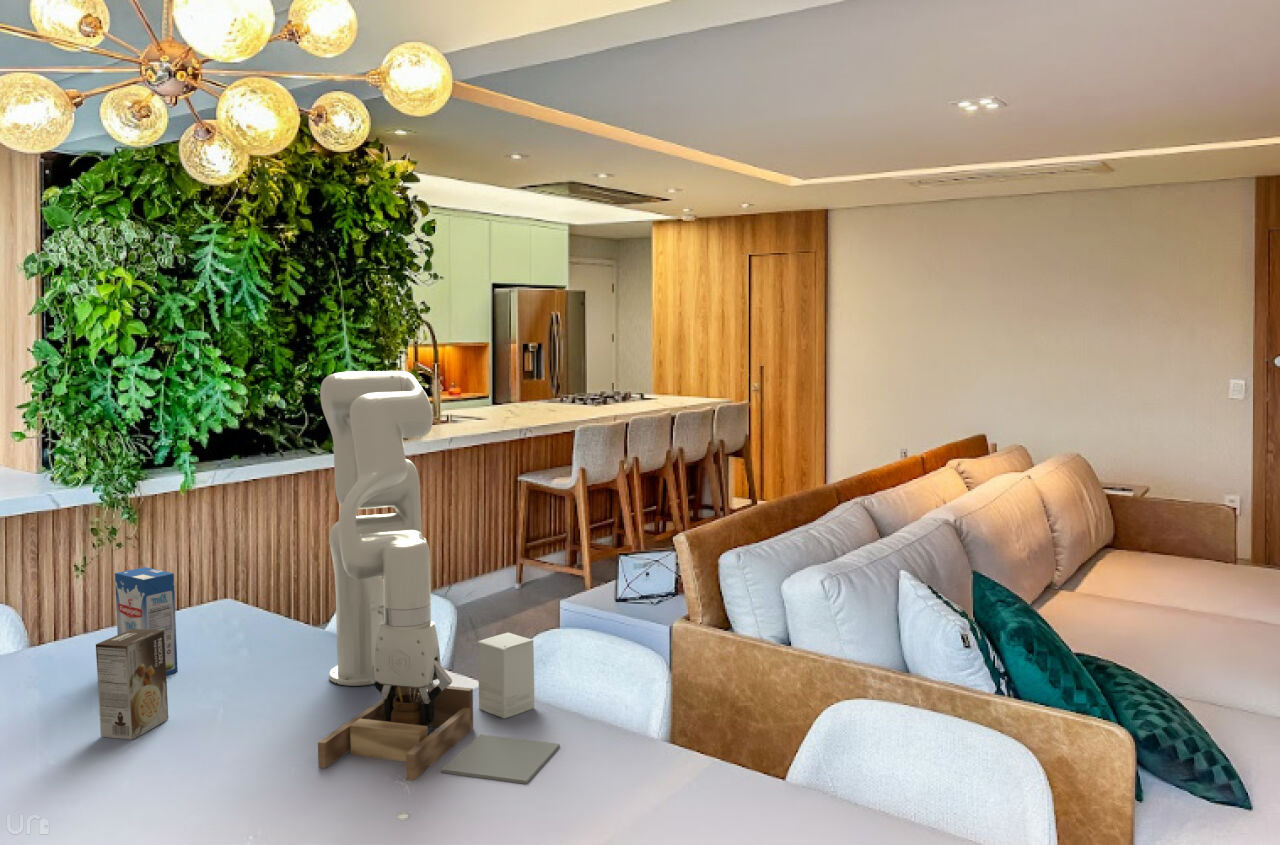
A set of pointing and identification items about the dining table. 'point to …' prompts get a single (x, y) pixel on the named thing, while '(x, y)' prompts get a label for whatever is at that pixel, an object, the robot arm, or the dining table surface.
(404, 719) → the utensil holder
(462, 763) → the slate mat
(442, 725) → the walnut u-shaped frame
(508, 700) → the supplement box
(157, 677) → the coffee box
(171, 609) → the milk carton
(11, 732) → the dining table surface
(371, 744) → the oak offcut block
